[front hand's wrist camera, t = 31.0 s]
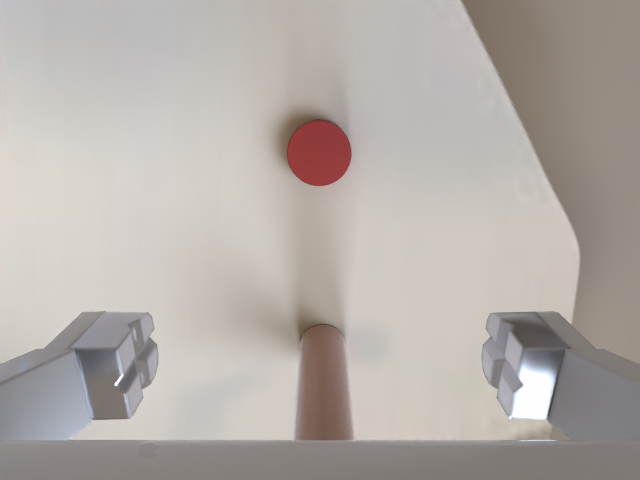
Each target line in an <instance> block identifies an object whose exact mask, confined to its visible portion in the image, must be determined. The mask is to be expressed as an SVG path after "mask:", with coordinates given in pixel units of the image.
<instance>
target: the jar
mask: <svg viewBox="0 0 640 480" xmlns="http://www.w3.org/2000/svg"><path fill="white" fill-rule="evenodd" d="M293 440H355V431H354V421H353V411H352V401H351V391H350V381H349V371H348V361H347V351H346V341H345V338H344V336H343V334H342V333H341V332H340V331H339V330H338V329H336V328H335V327H333V326H329V325H316V326H313V327H311V328H309V329H308V330H307V331H306V332H305V333H304V334H303V335H302V337H301V340H300V351H299V364H298V377H297V391H296V404H295V417H294V431H293Z"/></svg>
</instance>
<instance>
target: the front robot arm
mask: <svg viewBox="0 0 640 480" xmlns="http://www.w3.org/2000/svg"><path fill="white" fill-rule="evenodd" d="M153 330H154V324H153V319H152V316H151V315H150V314H149V313H148V312H106V311H96V312H82V313H81V314H80V315H79V316H78V317H77V318H76V319H75V320H74V321H73V322H72V323H71V324H70V325H68V326H67V327H66V328H65V329H64V330H63V331H62V332H61V333H60V334H59V335H58V336H57V337H56V338H55V339H54V340H53V341H52V342H51V343H50V344H48V345H47V346H46V347H45V348H44V349H36V350H33V351H31V352H29V353H26V354H24V355H22V356H19V357H17V358H14V359H12V360H10V361H7V362H5V363H3V364H0V480H640V364H637V363H635V362H633V361H630V360H628V359H625V358H623V357H621V356H618V355H616V354H614V353H611V352H609V351H607V350H604V349H596V348H595V347H594V346H593V345H592V344H590V343H589V342H588V341H587V340H586V339H585V338H584V337H583V336H582V335H581V334H580V333H579V332H578V331H577V330H576V329H575V328H574V327H573V326H572V325H571V324H570V323H569V322H567V321H566V320H565V319H564V318H563V317H562V316H561V315H560V314H559V313H557V312H554V311H545V312H504V313H490V314H489V317H488V319H487V323H486V330H487V332H488V333H489V335H490V336H491V337H490V338H489V339H488V340H487V341H486V342H485V343H484V344H483V349H482V367H483V371H484V374H485V377H486V379H487V381H488V383H489V384H490V385H492V386H493V387H495V388H496V389H498V393H497V399H498V400H499V402H500V404H501V406H502V407H503V409H504V411H505V413H506V414H507V416H508V418H509V419H532V420H548V422H549V423H550V424H552V425H553V426H554V427H556V428H557V429H558V430H560V431H561V432H562V433H563V434H565V435H566V436H568V437H569V438H570V439H571V440H69V439H70V438H71V437H73V436H74V435H75V434H77V433H78V432H79V431H81V430H82V429H83V428H85V427H86V426H87V425H88V424H90V423H91V422H92V420H108V419H131V418H132V416H133V414H134V413H135V411H136V409H137V407H138V406H139V404H140V402H141V400H142V399H143V393H142V389H144V388H145V387H147V386H148V385H150V384H151V383H152V381H153V379H154V377H155V375H156V370H157V366H158V348H157V344H156V343H155V342H154V341H153V340H152V339H151V338H150V337H149V336H150V335H151V333H152V332H153Z"/></svg>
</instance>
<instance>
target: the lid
mask: <svg viewBox="0 0 640 480" xmlns="http://www.w3.org/2000/svg"><path fill="white" fill-rule="evenodd" d="M287 157H288V162H289V165H290V168H291V170H292V171H293V173H294V174H295V175H296V176H297V177H298V178H299V179H300V180H302V181H303V182H305V183H307V184H310V185H314V186H324V185H329V184H331V183H334V182H335V181H337V180H338V179H340V178H341V177H342V176H343V175H344V174H345V172H346V171H347V169H348V167H349V164H350V161H351V146H350V143H349V140H348V138H347V136H346V135H345V133H344V132H343V130H342V129H341V128H340V127H338V126H337V125H336V124H334V123H332V122H329V121H326V120H313V121H309V122H307V123H305V124H303V125H302V126H300V127H299V128H298V129H297V130H296V131H295V132H294V134H293V136H292V137H291V140H290V142H289V145H288V150H287Z"/></svg>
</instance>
